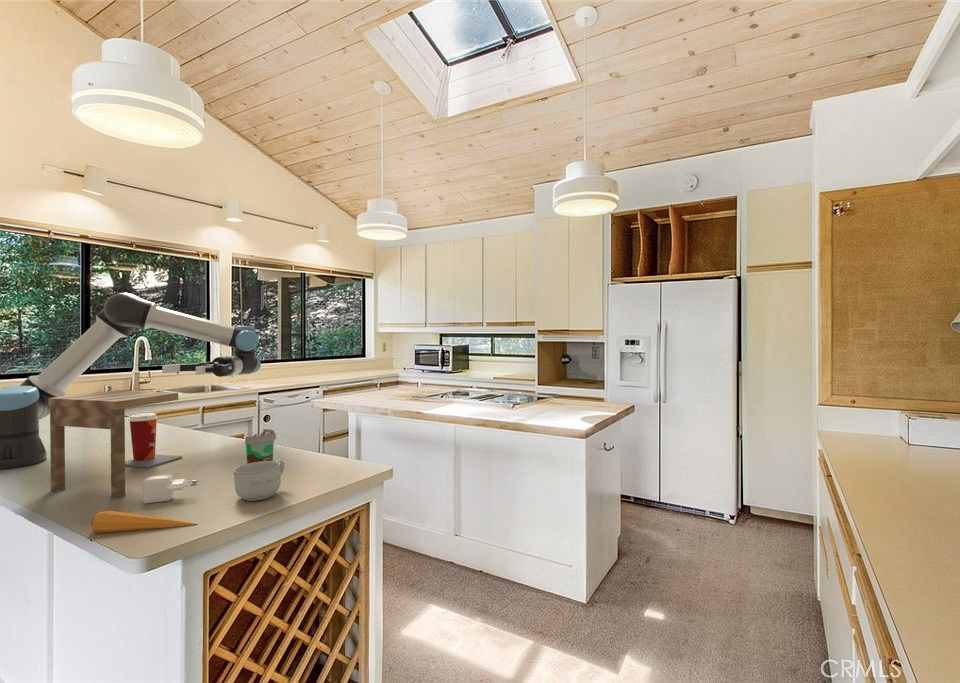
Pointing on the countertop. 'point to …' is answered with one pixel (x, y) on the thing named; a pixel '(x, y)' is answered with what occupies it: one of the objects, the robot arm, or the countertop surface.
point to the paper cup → (143, 435)
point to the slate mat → (152, 461)
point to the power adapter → (163, 487)
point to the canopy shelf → (101, 414)
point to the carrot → (130, 522)
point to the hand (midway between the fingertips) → (179, 370)
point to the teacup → (258, 479)
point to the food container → (260, 446)
